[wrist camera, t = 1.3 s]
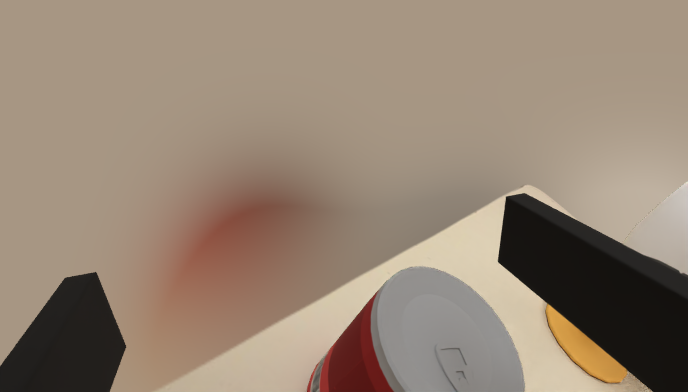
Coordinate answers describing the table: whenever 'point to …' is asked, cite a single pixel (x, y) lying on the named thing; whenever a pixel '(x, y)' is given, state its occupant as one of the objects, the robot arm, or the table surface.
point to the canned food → (422, 342)
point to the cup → (650, 240)
